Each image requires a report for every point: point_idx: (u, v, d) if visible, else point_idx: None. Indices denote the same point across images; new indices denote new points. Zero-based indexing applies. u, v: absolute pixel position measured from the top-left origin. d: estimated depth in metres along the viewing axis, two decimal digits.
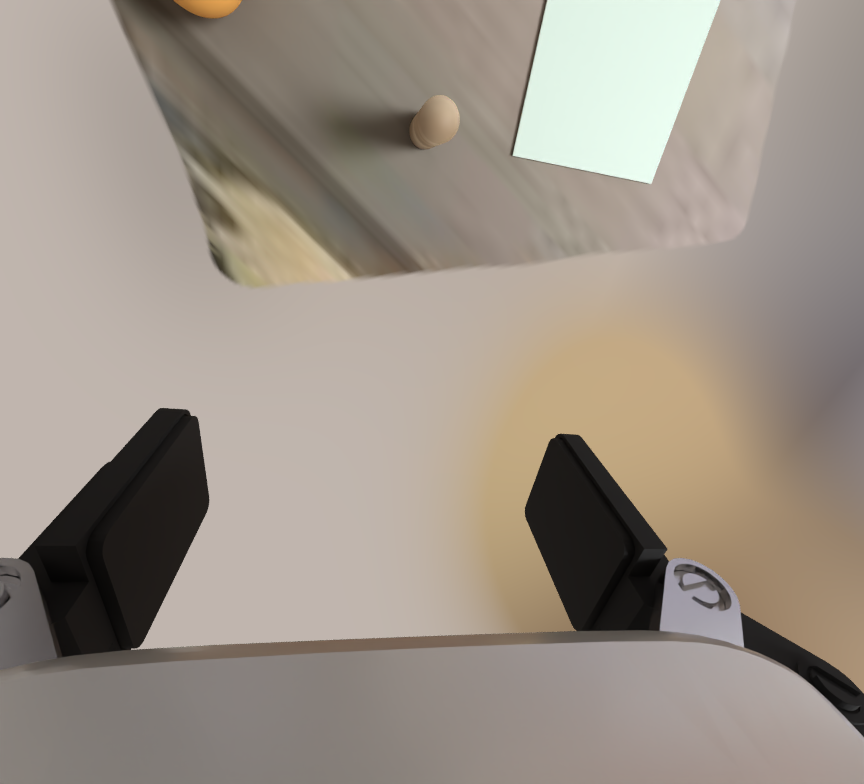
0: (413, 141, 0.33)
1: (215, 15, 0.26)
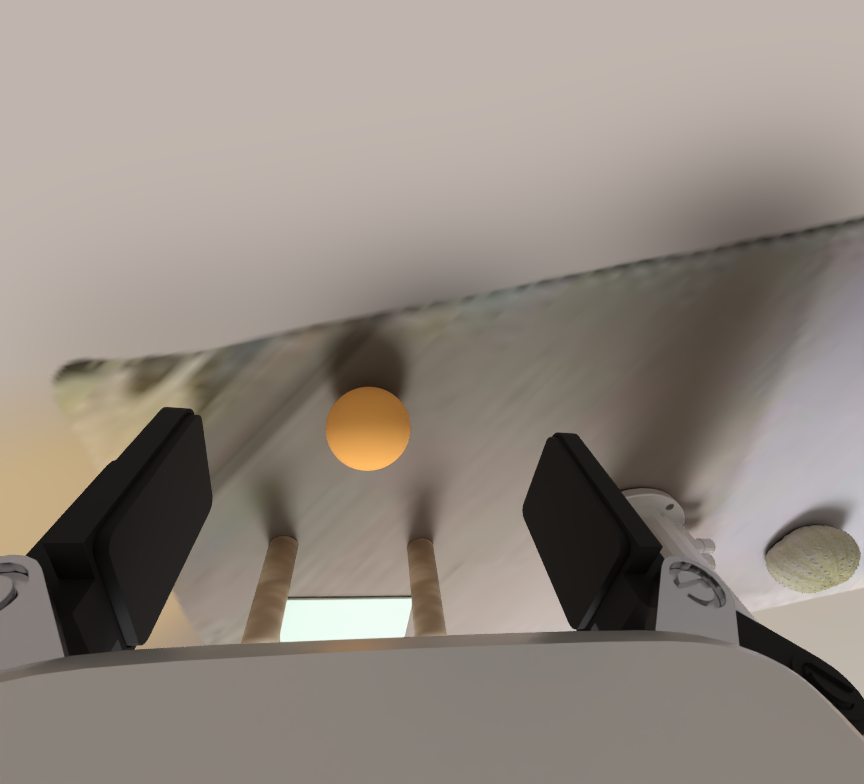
0: (270, 546, 0.36)
1: None
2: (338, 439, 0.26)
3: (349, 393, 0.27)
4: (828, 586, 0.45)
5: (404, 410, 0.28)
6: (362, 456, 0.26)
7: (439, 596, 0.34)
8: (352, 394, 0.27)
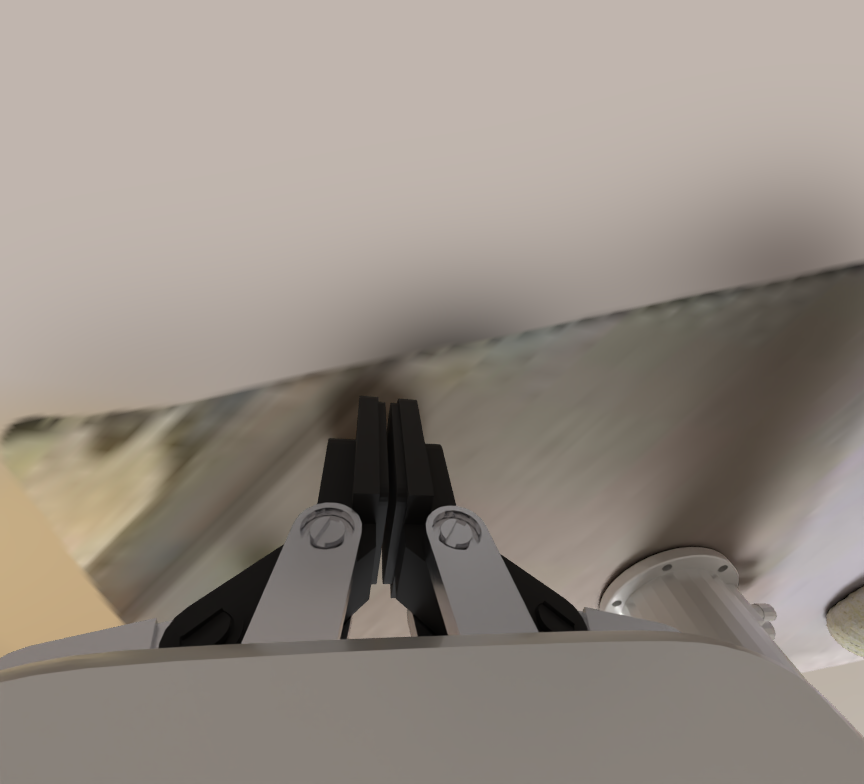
0: None
1: None
2: None
3: None
4: None
5: None
6: None
7: None
8: None
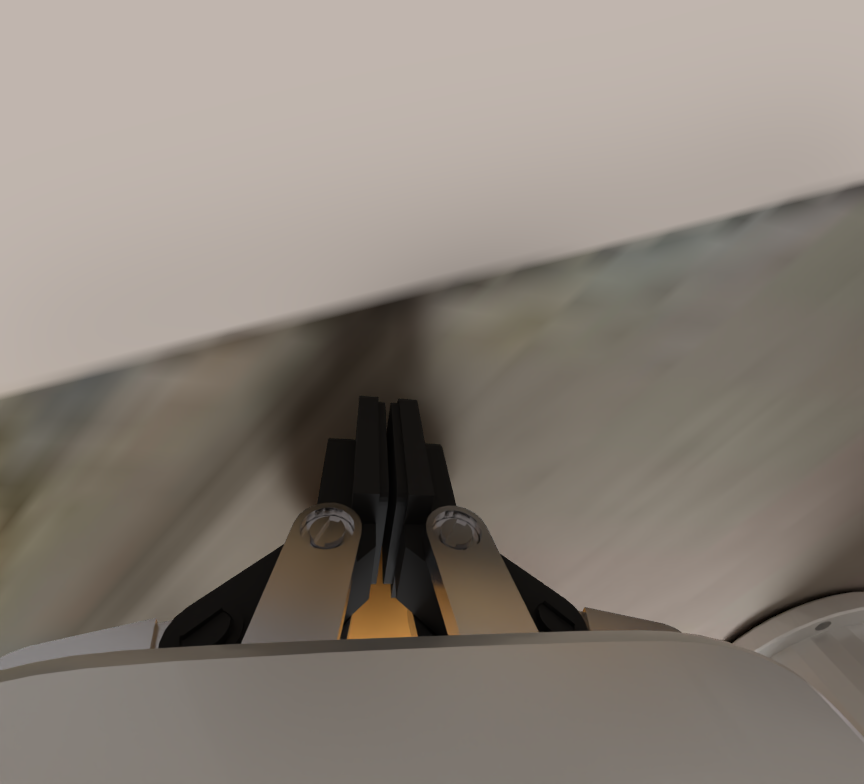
0: None
1: None
2: None
3: None
4: None
5: None
6: None
7: None
8: None
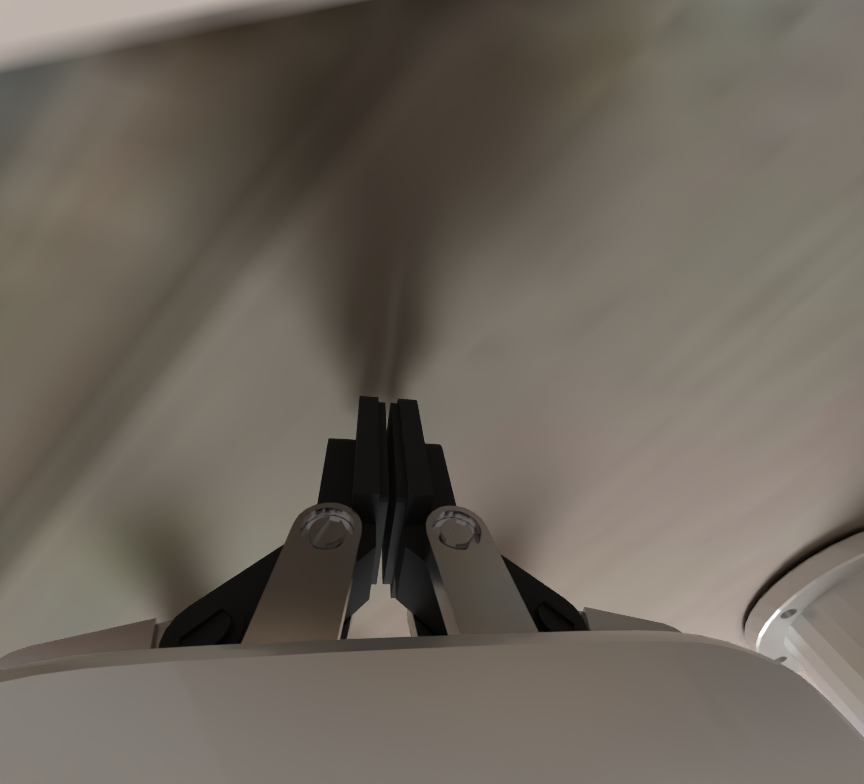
0: None
1: None
2: None
3: None
4: None
5: None
6: None
7: None
8: None
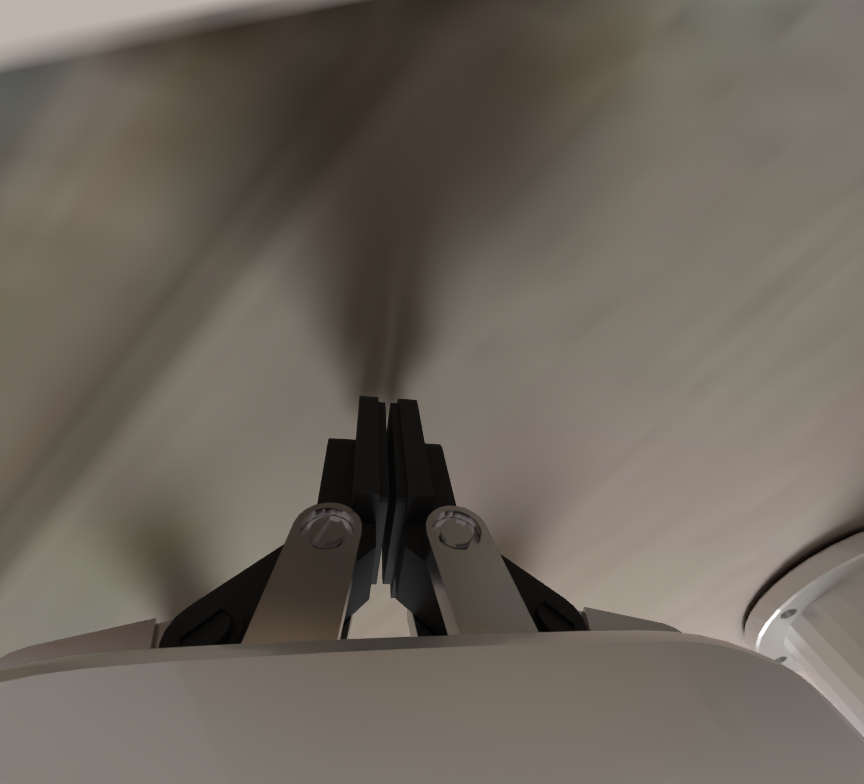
0: None
1: None
2: None
3: None
4: None
5: None
6: None
7: None
8: None
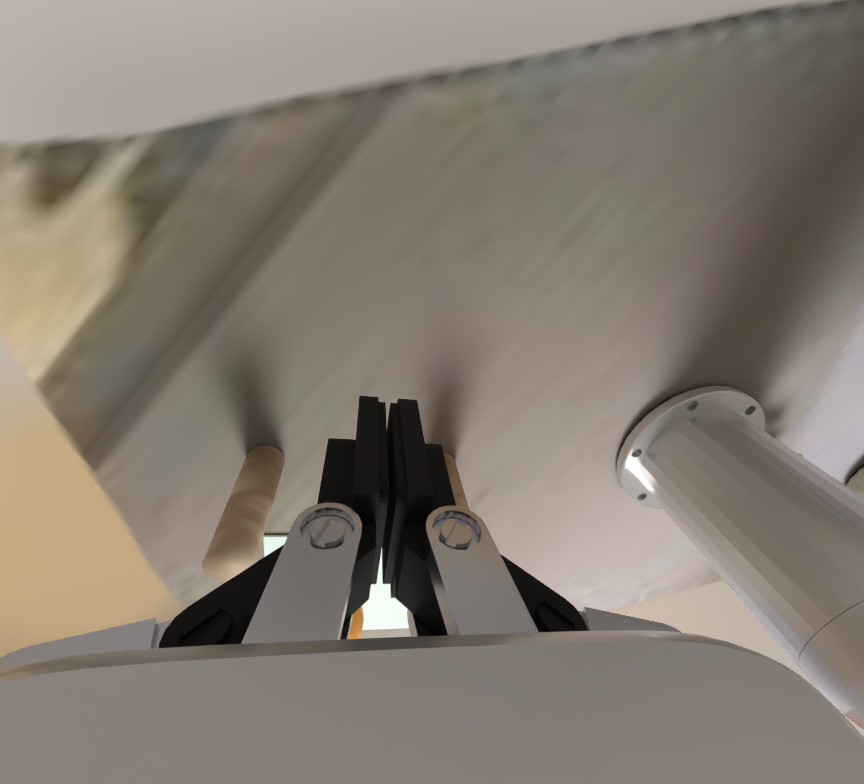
0: (248, 457, 0.28)
1: None
2: None
3: None
4: None
5: None
6: None
7: None
8: None
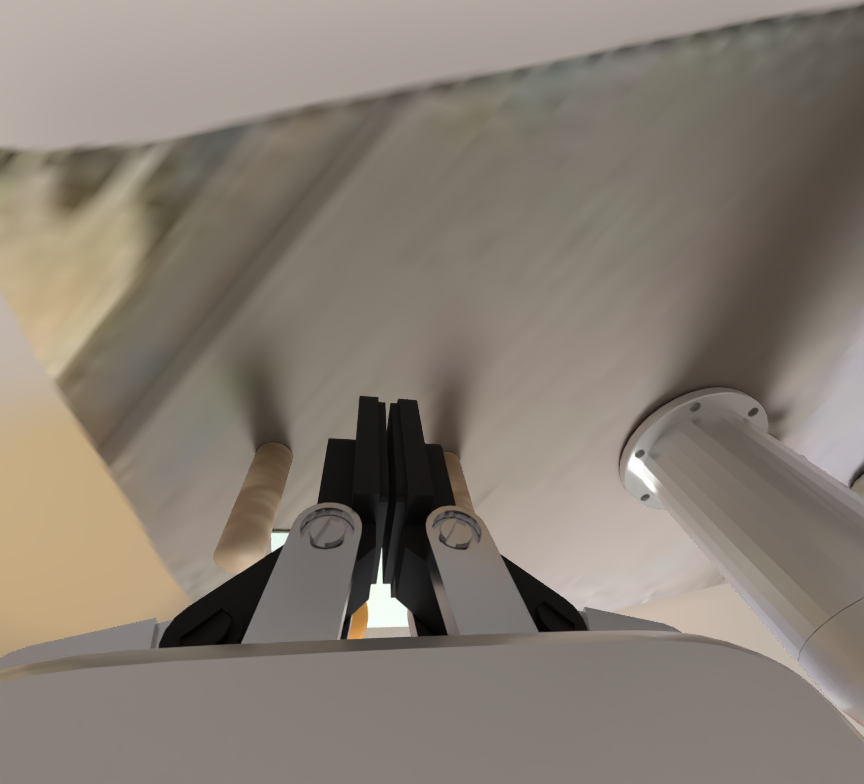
0: (257, 454, 0.28)
1: None
2: None
3: None
4: None
5: None
6: None
7: (473, 511, 0.27)
8: None
